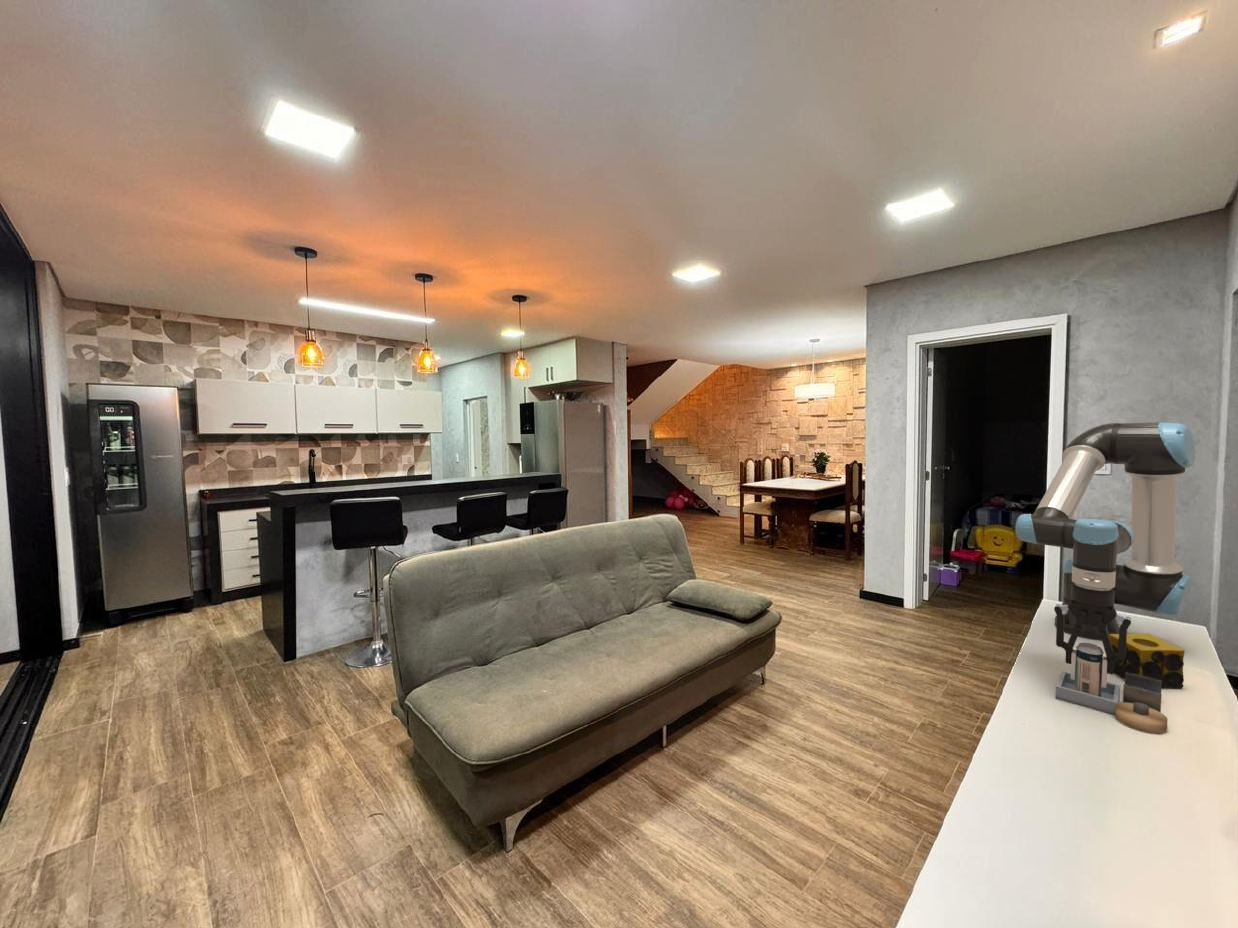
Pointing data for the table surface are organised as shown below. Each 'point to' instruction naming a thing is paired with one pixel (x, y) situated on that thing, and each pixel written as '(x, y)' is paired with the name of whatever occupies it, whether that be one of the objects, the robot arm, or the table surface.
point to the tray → (1088, 695)
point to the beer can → (1089, 669)
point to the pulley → (1141, 717)
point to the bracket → (1142, 690)
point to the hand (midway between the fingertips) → (1088, 681)
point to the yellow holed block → (1150, 659)
